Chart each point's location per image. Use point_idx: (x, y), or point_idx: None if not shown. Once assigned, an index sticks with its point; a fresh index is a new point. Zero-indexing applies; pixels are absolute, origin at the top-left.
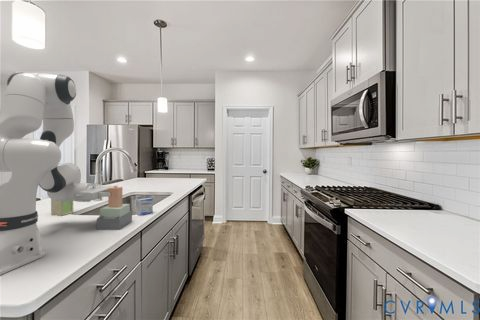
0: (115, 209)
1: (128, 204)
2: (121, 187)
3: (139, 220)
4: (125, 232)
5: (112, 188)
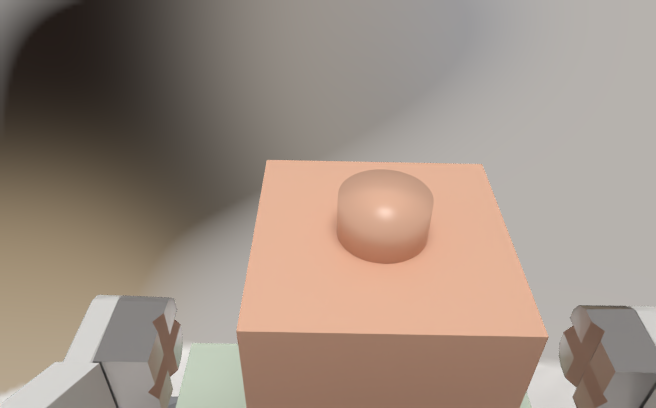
0: (527, 403)
1: (221, 348)
2: (314, 165)
3: (174, 395)
4: (551, 384)
5: (513, 252)
